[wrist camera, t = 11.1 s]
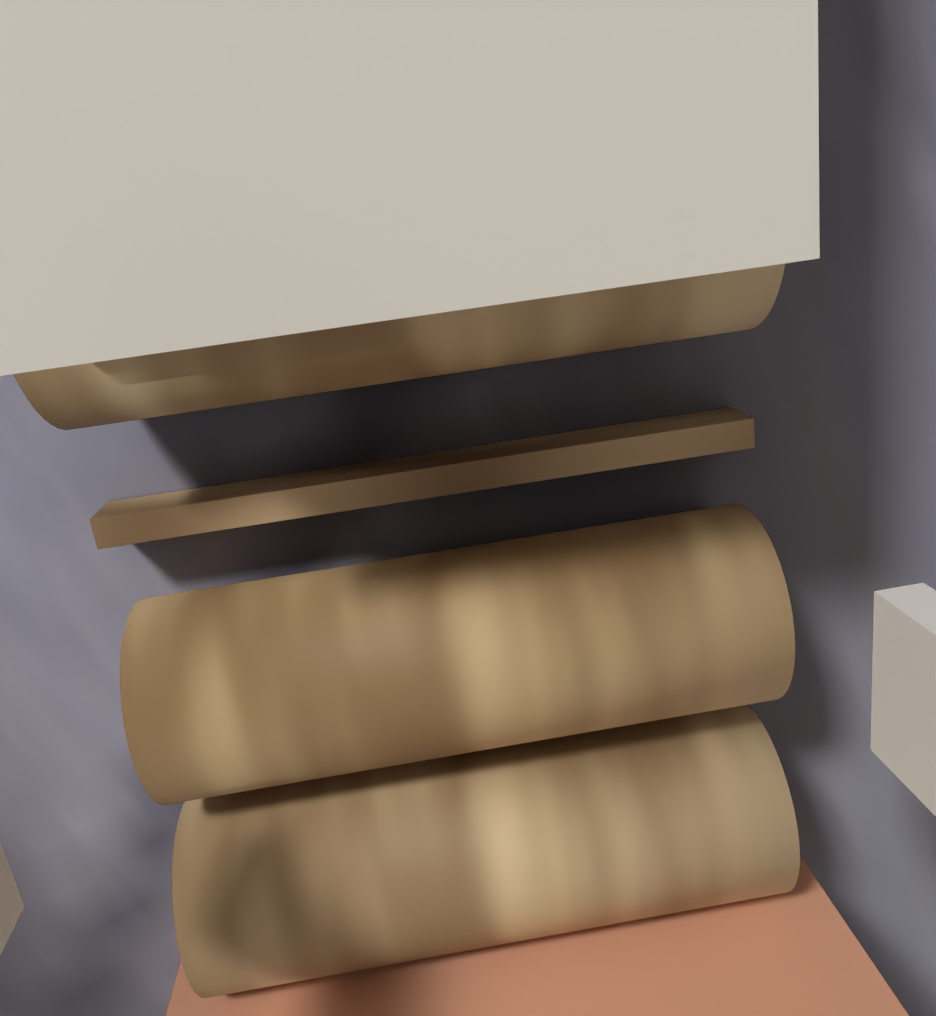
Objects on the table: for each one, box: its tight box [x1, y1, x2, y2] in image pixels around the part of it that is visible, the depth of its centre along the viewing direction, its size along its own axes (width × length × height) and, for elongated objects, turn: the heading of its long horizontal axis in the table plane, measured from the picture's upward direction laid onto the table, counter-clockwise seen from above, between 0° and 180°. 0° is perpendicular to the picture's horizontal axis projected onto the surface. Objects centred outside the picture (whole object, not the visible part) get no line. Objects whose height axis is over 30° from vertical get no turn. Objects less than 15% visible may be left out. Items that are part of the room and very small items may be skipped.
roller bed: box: [13, 263, 800, 998], centre depth 15 cm, size 13×27×4 cm, turn 8°
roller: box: [120, 504, 795, 805], centre depth 17 cm, size 12×4×4 cm, turn 98°
